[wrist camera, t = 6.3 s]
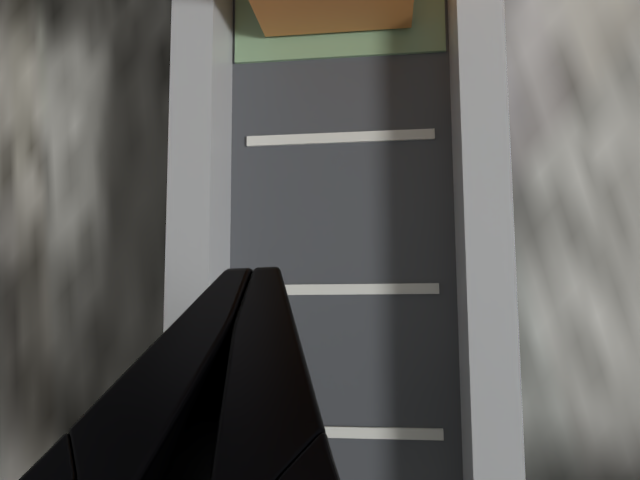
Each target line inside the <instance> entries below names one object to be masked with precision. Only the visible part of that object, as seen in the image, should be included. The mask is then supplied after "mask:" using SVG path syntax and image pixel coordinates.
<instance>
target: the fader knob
mask: <svg viewBox="0 0 640 480" xmlns="http://www.w3.org/2000/svg"><path fill="white" fill-rule="evenodd" d="M249 3H250V5H251V7H252V9H253V11H254V13H255V16H256V18H257V20H258V22H259V24H260V26H261V29H262V31H263V33H264V35H265V37H271V36H287V35H303V34H319V33H335V32H351V31H367V30H383V29H399V28H412V16H413V5H414V0H249Z"/></svg>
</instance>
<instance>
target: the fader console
mask: <svg viewBox="0 0 640 480" xmlns="http://www.w3.org/2000/svg"><path fill="white" fill-rule="evenodd" d="M257 267H279V268H280V270H281V273H282V277H283V280H284V284H285V287H286V291H287V295H288V298H289V302H290V305H291V309H292V313H293V316H294V320H295V323H296V327H297V330H298V334H299V338H300V341H301V345H302V348H303V352H304V356H305V359H306V363H307V366H308V370H309V373H310V377H311V381H312V384H313V388H314V391H315V395H316V399H317V402H318V406H319V409H320V413H321V416H322V420H323V424H324V427H325V432H326V435H327V437H328V440H329V444H330V448H331V451H332V455H333V458H334V462H335V465H336V468H337V471H338V474H339V477H340V480H526V478H525V456H524V434H523V411H522V389H521V367H520V345H519V322H518V300H517V278H516V256H515V233H514V211H513V189H512V167H511V144H510V122H509V100H508V78H507V55H506V33H505V11H504V0H414V5H413V16H412V28H399V29H383V30H367V31H351V32H335V33H319V34H303V35H287V36H271V37H265V35H264V33H263V31H262V29H261V26H260V24H259V22H258V20H257V18H256V16H255V13H254V11H253V9H252V7H251V5H250V3H249V0H172V9H171V49H170V88H169V127H168V167H167V206H166V245H165V285H164V324H163V333H164V332H165V331H166V330H167V329H168V328H169V327H170V326H171V325H172V324H173V323H174V322H175V321H176V320H177V319H178V318H179V317H180V316H181V315H182V314H183V312H184V311H185V310H186V309H187V308H188V307H189V306H190V305H191V304H192V303H193V302H194V301H195V300H196V299H197V298H198V297H199V296H200V295H201V294H202V293H203V292H204V291H205V290H206V289H207V288H208V287H209V286H210V285H211V284H212V283H213V282H214V281H215V280H216V279H217V278H218V277H219V276H220V275H221V274H222V273H223V272H224V271H225V270H227V269H229V268H251V269H252V270H254V269H255V268H257Z"/></svg>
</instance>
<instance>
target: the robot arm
mask: <svg viewBox="0 0 640 480" xmlns="http://www.w3.org/2000/svg"><path fill="white" fill-rule="evenodd" d="M69 434H70V435H69ZM69 434H64V435H63V436H62V437H61V438H60V439H59V440H58V441H57V442H56V443H55V444H54V445H53V446H52V447H51V448H50V449H49V450H48V451H47V452H46V453H45V454H44V455H43V456H42V457H41V458H40V459H39V460H38V461H37V462H36V463H35V464H34V465H33V466H32V467H31V468H30V469H29V470H28V471H27V472H26V473H25V474H24V475H23V476H22V477H21V478H20V479H19V480H340V477H339V474H338V471H337V468H336V465H335V462H334V458H333V455H332V451H331V448H330V444H329V440H328V437H327V435H326V432H325V427H324V424H323V420H322V416H321V413H320V409H319V406H318V402H317V399H316V395H315V391H314V388H313V384H312V381H311V377H310V373H309V370H308V366H307V363H306V359H305V356H304V352H303V348H302V345H301V341H300V338H299V334H298V330H297V327H296V323H295V320H294V316H293V313H292V309H291V305H290V302H289V298H288V295H287V291H286V287H285V284H284V280H283V277H282V273H281V270H280V268H279V267H257V268H255V269H254V270H252V269H251V268H229V269H227V270H225V271H224V272H223V273H222V274H221V275H220V276H219V277H218V278H217V279H216V280H215V281H214V282H213V283H212V284H211V285H210V286H209V287H208V288H207V289H206V290H205V291H204V292H203V293H202V294H201V295H200V296H199V297H198V298H197V299H196V300H195V301H194V302H193V303H192V304H191V305H190V306H189V307H188V308H187V309H186V310H185V311H184V312H183V314H182V315H181V316H180V317H179V318H178V319H177V320H176V321H175V322H174V323H173V324H172V325H171V326H170V327H169V328H168V329H167V330H166V331H165V332H164V333H163V334H162V335H161V336H160V337H159V338H158V339H157V340H156V341H155V342H154V343H153V344H152V345H151V346H150V347H149V348H148V349H147V350H146V351H145V352H144V353H143V354H142V355H141V356H140V357H139V359H138V360H137V361H136V362H135V363H134V364H133V365H132V366H131V367H130V368H129V369H128V370H127V371H126V372H125V373H124V374H123V375H122V376H121V377H120V378H119V379H118V380H117V381H116V382H115V383H114V384H113V385H112V386H111V387H110V388H109V389H108V390H107V391H106V392H105V393H104V394H103V395H102V396H101V397H100V398H99V399H98V400H97V401H96V402H95V404H94V405H93V406H92V407H91V408H90V409H89V410H88V411H87V412H86V413H85V414H84V415H83V416H82V417H81V418H80V419H79V420H78V421H77V422H76V423H75V424H74V425H73V426H72V427H71V428H70V430H69Z"/></svg>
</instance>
